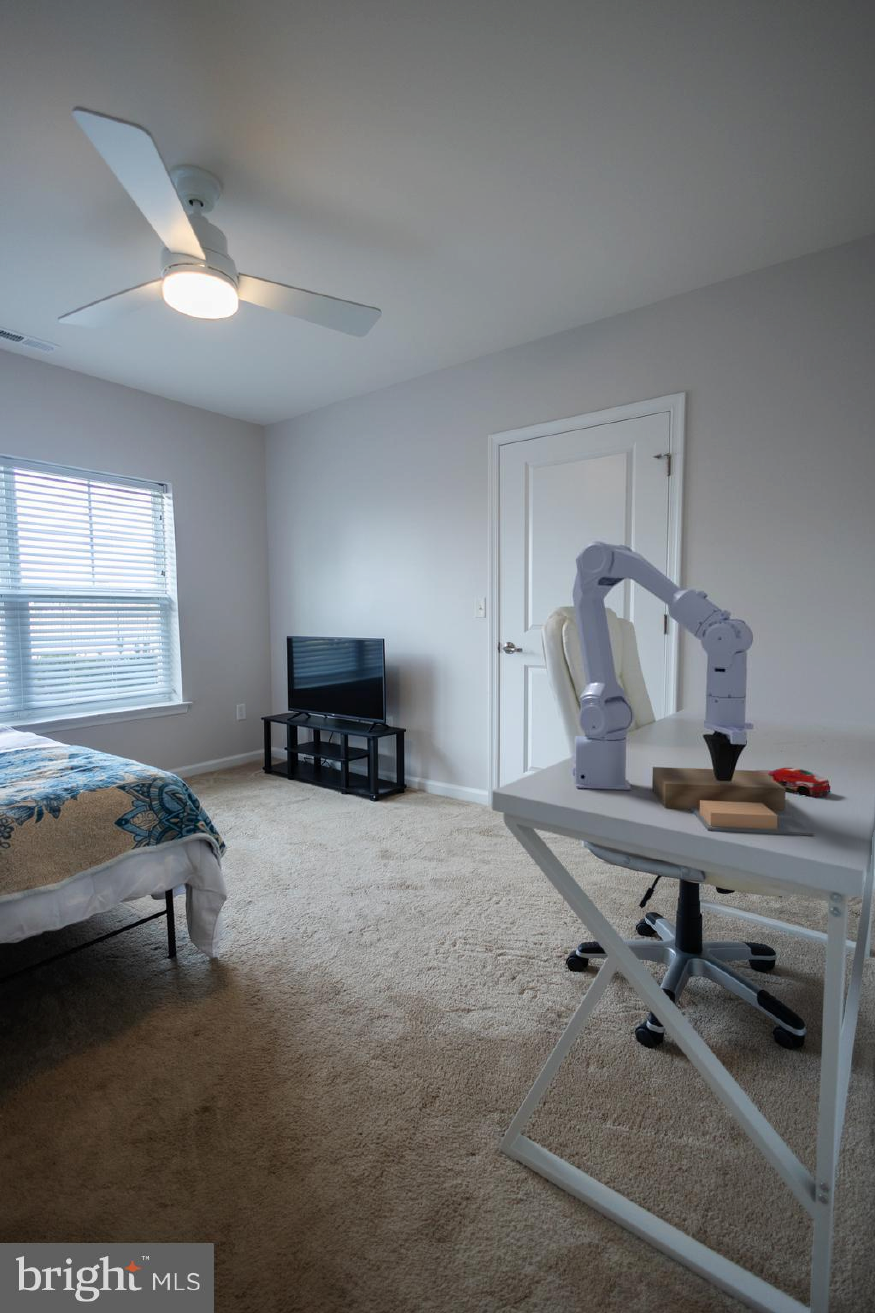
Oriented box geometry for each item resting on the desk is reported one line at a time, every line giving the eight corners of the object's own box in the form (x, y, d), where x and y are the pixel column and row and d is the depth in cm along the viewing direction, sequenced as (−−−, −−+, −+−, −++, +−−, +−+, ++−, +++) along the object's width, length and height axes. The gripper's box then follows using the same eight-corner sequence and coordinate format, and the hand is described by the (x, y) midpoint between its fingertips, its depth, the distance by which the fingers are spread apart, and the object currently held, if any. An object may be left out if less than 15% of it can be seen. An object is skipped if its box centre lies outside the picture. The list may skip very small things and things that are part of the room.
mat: (707, 830, 88) (707, 827, 88) (690, 809, 98) (690, 806, 98) (813, 835, 86) (813, 833, 86) (784, 813, 96) (784, 810, 96)
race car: (742, 785, 113) (742, 764, 113) (755, 780, 116) (756, 759, 116) (821, 801, 103) (821, 778, 102) (833, 795, 106) (834, 773, 106)
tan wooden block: (699, 800, 94) (699, 813, 95) (710, 812, 89) (710, 826, 89) (762, 803, 93) (761, 815, 93) (777, 815, 87) (776, 829, 87)
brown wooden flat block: (664, 807, 99) (665, 783, 98) (652, 789, 109) (652, 767, 109) (784, 813, 96) (785, 788, 95) (759, 793, 106) (760, 770, 106)
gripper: (769, 702, 89) (766, 794, 90) (738, 690, 103) (735, 769, 104) (718, 701, 90) (715, 792, 91) (694, 689, 104) (692, 768, 105)
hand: (723, 780), depth 97 cm, fingers closed
